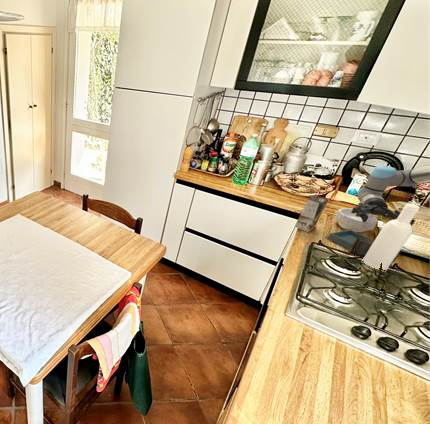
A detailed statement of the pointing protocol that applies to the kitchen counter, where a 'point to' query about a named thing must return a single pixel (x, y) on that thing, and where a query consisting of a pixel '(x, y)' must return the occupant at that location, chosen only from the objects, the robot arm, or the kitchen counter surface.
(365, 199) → the robot arm
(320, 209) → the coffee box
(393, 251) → the bottle
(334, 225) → the kitchen counter surface
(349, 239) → the drying tray
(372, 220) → the paper bowls
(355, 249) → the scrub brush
